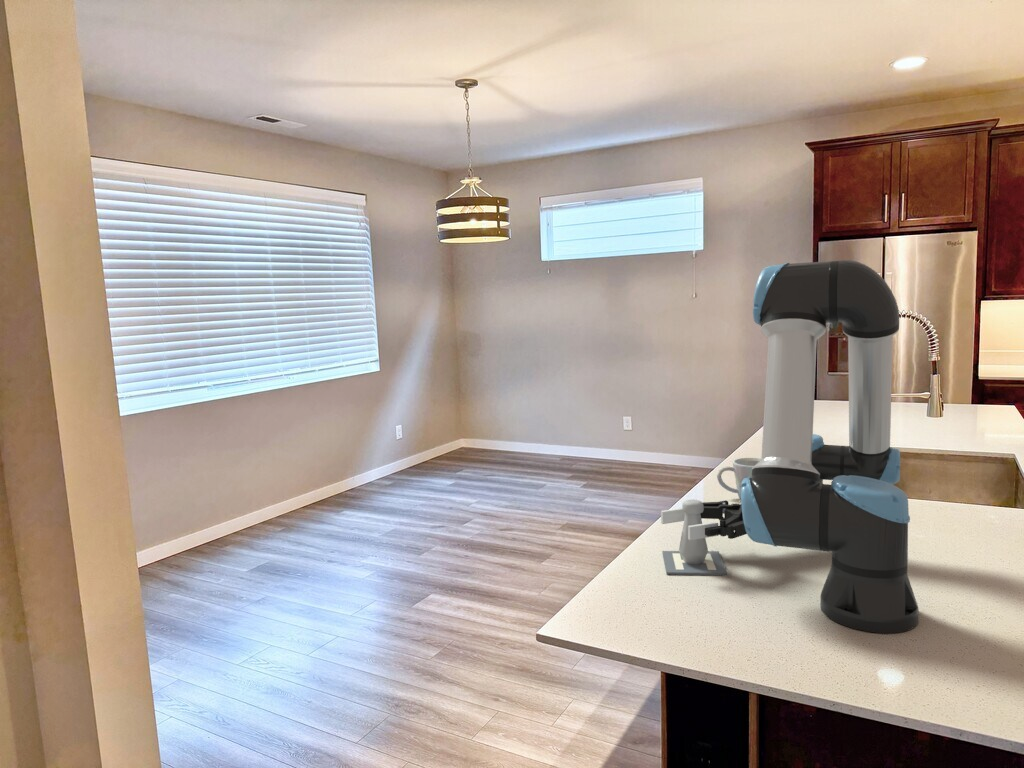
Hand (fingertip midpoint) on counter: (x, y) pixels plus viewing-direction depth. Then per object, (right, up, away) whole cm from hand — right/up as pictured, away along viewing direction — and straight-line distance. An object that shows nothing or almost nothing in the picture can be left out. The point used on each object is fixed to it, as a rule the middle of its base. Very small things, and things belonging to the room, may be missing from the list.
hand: (674, 525), depth 144 cm
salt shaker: (+5, -8, +2) cm, 10 cm away
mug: (+30, -2, +47) cm, 56 cm away
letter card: (+4, -9, +2) cm, 10 cm away
